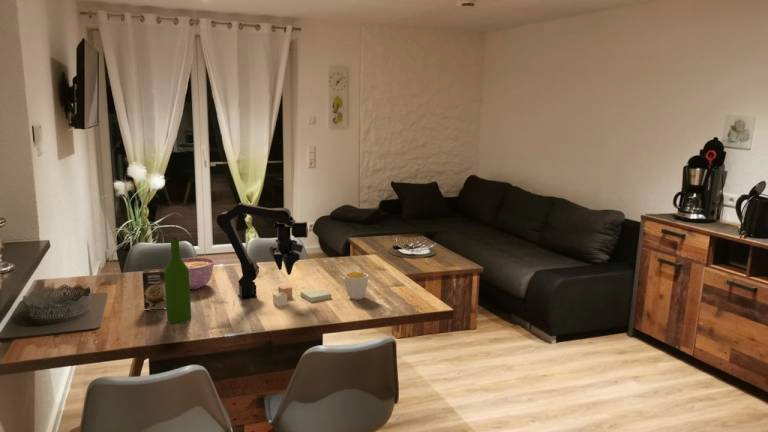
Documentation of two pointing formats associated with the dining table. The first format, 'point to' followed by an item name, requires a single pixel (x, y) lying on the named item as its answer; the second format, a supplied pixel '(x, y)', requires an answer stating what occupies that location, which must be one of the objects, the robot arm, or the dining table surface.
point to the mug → (356, 285)
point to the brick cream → (280, 299)
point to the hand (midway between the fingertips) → (284, 272)
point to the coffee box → (154, 288)
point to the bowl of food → (199, 271)
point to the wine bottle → (177, 287)
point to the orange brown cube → (286, 290)
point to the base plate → (315, 295)
